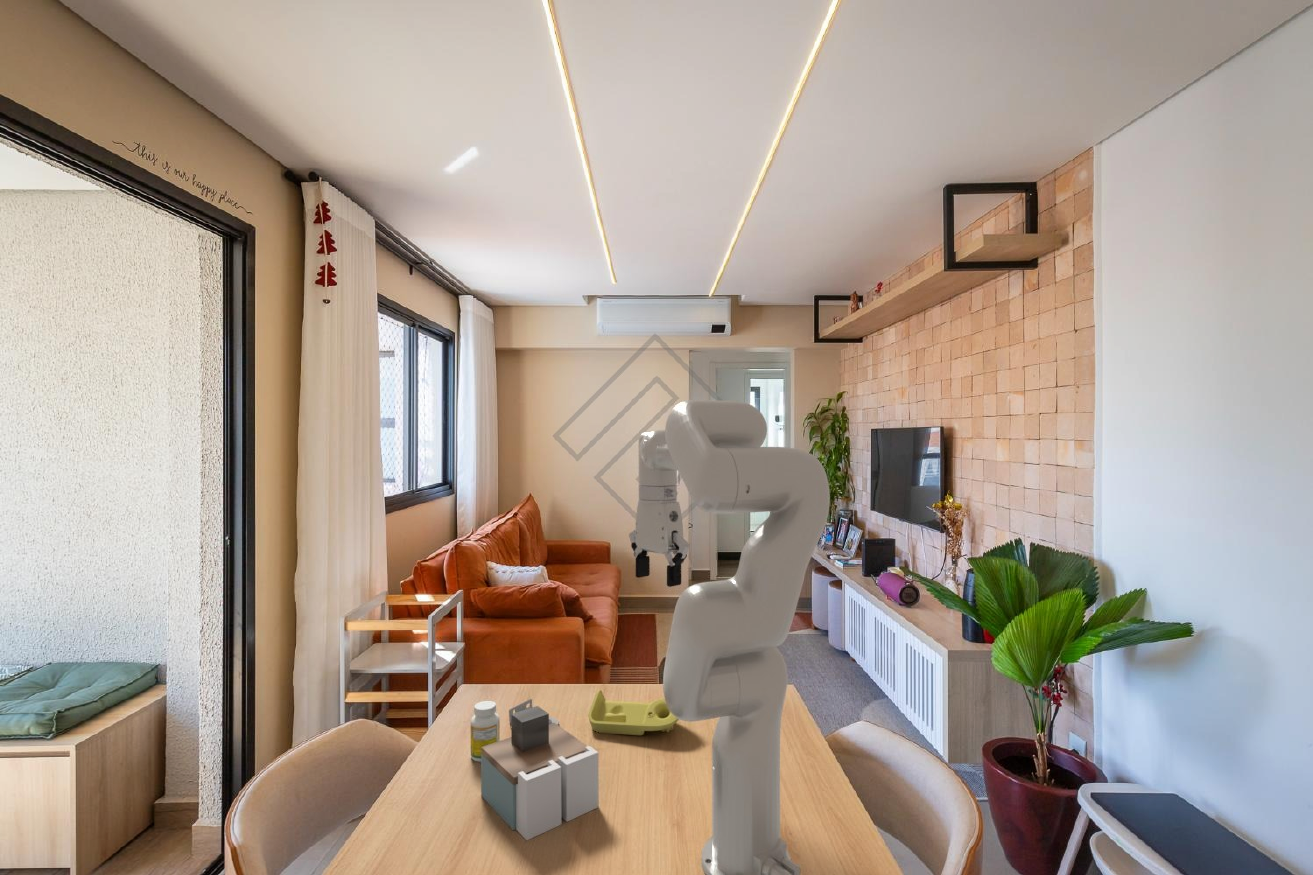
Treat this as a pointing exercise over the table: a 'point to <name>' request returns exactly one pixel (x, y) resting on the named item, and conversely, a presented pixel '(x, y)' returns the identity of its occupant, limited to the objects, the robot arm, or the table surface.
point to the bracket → (523, 707)
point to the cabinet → (543, 793)
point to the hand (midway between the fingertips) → (657, 580)
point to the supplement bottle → (484, 728)
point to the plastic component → (629, 716)
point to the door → (531, 745)
